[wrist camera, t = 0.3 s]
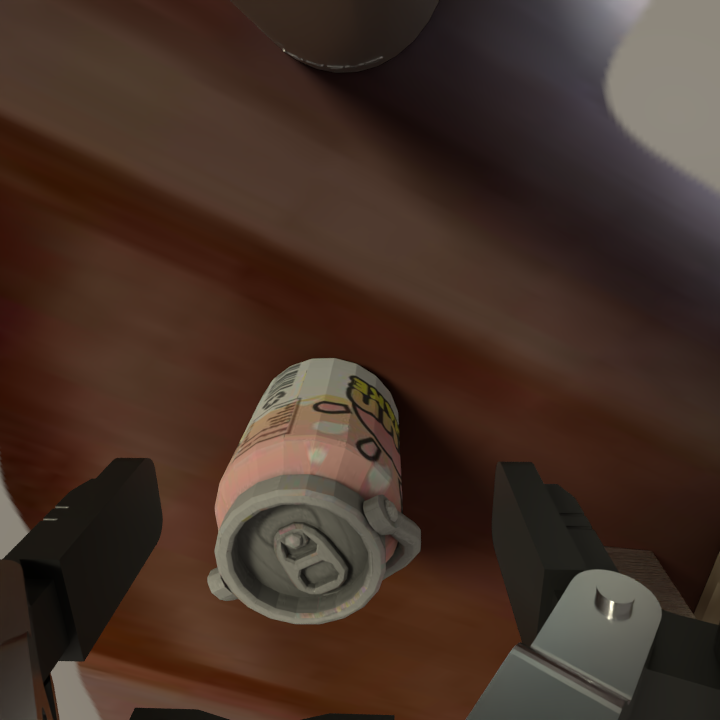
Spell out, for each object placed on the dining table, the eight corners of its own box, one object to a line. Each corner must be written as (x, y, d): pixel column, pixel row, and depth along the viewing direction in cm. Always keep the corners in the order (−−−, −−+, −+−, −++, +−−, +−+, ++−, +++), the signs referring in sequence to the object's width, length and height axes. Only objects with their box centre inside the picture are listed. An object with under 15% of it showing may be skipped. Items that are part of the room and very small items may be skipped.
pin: (595, 545, 34) (691, 729, 23) (651, 550, 34) (774, 737, 23) (582, 588, 35) (667, 781, 25) (636, 593, 35) (745, 788, 25)
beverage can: (433, 453, 32) (459, 616, 21) (315, 507, 34) (282, 683, 23) (356, 325, 29) (339, 435, 18) (232, 392, 31) (148, 528, 20)
